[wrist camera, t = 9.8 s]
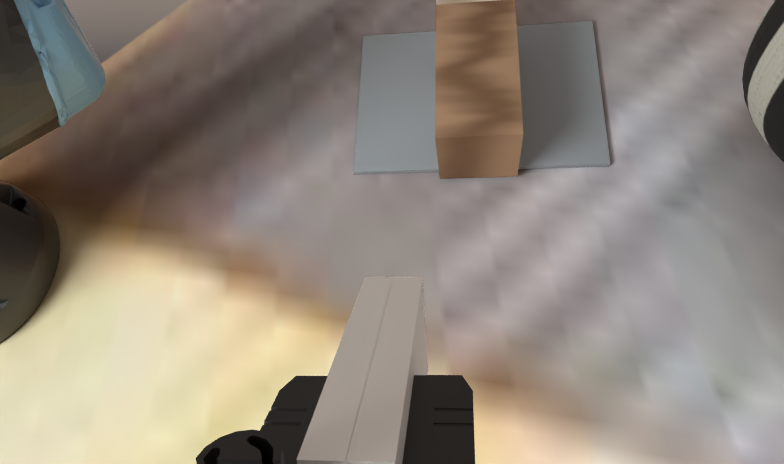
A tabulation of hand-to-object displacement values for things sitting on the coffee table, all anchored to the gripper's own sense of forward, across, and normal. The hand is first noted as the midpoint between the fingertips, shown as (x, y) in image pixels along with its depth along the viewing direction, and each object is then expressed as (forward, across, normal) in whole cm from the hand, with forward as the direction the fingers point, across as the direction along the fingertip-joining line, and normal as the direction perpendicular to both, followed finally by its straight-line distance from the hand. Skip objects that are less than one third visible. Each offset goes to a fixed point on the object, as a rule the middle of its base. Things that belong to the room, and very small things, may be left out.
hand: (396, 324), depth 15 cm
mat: (+36, +3, +1) cm, 36 cm away
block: (+29, +3, -2) cm, 29 cm away
